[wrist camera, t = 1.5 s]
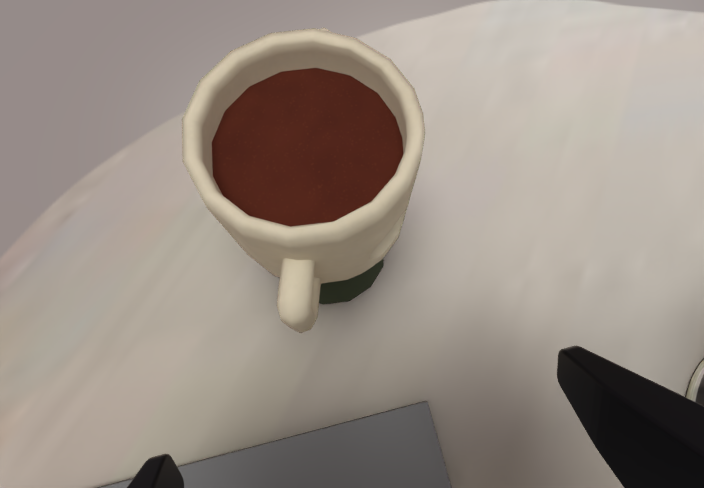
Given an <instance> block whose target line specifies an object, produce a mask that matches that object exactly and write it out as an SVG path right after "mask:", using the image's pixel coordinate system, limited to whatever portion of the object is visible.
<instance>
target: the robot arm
mask: <svg viewBox="0 0 704 488" xmlns="http://www.w3.org/2000/svg"><path fill="white" fill-rule="evenodd" d="M557 378H558V382H559V384H560V386H561V388H562V390H563V391H564V393H565V395H566V397H567V398H568V400H569V402H570V404H571V405H572V407H573V409H574V411H575V412H576V414H577V416H578V418H579V419H580V421H581V423H582V425H583V426H584V428H585V430H586V432H587V433H588V435H589V437H590V438H591V440H592V442H593V443H594V445H595V447H596V448H597V450H598V451H599V453H600V454H601V456H602V457H603V458H604V460H605V461H606V463H607V464H608V465H609V467H610V468H611V470H612V471H613V472H614V474H615V475H616V477H617V478H618V479H619V481H620V482H621V484H622V485H623V486H624V488H704V406H703V405H701V404H698V403H696V402H694V401H692V400H690V399H688V398H686V397H684V396H682V395H680V394H678V393H676V392H673V391H671V390H669V389H667V388H665V387H663V386H661V385H659V384H657V383H655V382H653V381H651V380H648V379H646V378H644V377H642V376H640V375H638V374H636V373H634V372H632V371H630V370H628V369H626V368H623V367H621V366H619V365H617V364H615V363H613V362H611V361H609V360H607V359H605V358H603V357H601V356H598V355H596V354H594V353H592V352H590V351H588V350H586V349H584V348H582V347H579V346H572V347H568V348H564V349H561V350H560V351H559V354H558V368H557ZM127 488H184V480H183V477H182V474H181V473H180V471H179V469H178V468H177V466H176V464H175V462H174V461H173V459H172V457H171V456H170V455H169V454H163V455H159V456H155V457H152V458H150V459H148V460H147V461H146V462H145V464H144V465H143V466H142V468H141V469H140V470H139V472H138V473H137V474H136V476H135V477H134V478H133V480H132V481H131V483H130V484H129V485H128V487H127Z"/></svg>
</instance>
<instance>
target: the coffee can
mask: <svg viewBox="0 0 704 488" xmlns="http://www.w3.org/2000/svg"><path fill="white" fill-rule="evenodd" d="M686 398H688V399H690V400H692V401H694V402H696V403H698V404H701V405H703V406H704V359H703V361H702V362H701V363H700V365H699V366H698V368H697V369H696V371H695V373H694V375H693V377H692V379H691V381H690V384H689V387H688V390H687V395H686Z"/></svg>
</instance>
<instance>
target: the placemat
mask: <svg viewBox="0 0 704 488" xmlns="http://www.w3.org/2000/svg"><path fill="white" fill-rule="evenodd" d="M177 468H178V469H179V471H180V473H181V474H182V477H183V480H184V488H452V487H451V484H450V480H449V477H448V473H447V470H446V466H445V462H444V459H443V455H442V452H441V448H440V445H439V441H438V437H437V434H436V430H435V427H434V423H433V420H432V416H431V413H430V409H429V405H428V402H427V401H424V402H420V403H416V404H412V405H409V406H405V407H401V408H397V409H394V410H390V411H386V412H382V413H378V414H375V415H371V416H367V417H363V418H359V419H356V420H352V421H348V422H344V423H341V424H337V425H333V426H329V427H325V428H322V429H318V430H314V431H310V432H306V433H303V434H299V435H295V436H291V437H288V438H284V439H280V440H276V441H272V442H269V443H265V444H261V445H257V446H253V447H250V448H246V449H242V450H238V451H235V452H231V453H227V454H223V455H219V456H216V457H212V458H208V459H204V460H200V461H197V462H193V463H189V464H185V465H182V466H178V467H177ZM132 480H133V478H132V479H129V480H125V481H121V482H117V483H113V484H110V485H106V486H102V487H98V488H127V487H128V485H129V484H130V483H131V481H132Z"/></svg>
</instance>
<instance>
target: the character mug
mask: <svg viewBox="0 0 704 488" xmlns="http://www.w3.org/2000/svg"><path fill="white" fill-rule="evenodd" d="M424 138H425V127H424V118H423V112H422V109H421V106H420V104H419V101H418V98H417V95H416V92H415V89H414V88H413V86H412V85H411V84H410V83H409V81H408V80H407V79H406V78H405V77H404V75H403V74H402V73H401V72H400V70H399V69H398V68H397V67H396V65H395V64H394V63H393V62H392V60H391V59H389V58H388V57H386V56H384V55H383V54H381V53H379V52H378V51H376V50H374V49H373V48H371V47H370V46H368V45H366V44H365V43H363V42H361V41H360V40H358V39H356V38H353V37H349V36H345V35H340V34H336V33H332V32H330V31H329V30H327V29H326V28H322V29H320V30H319V29H315V28H312V29H303V30H294V31H285V32H276V33H270V34H267V35H266V36H263V37H261V38H259V39H256V40H254V41H252V42H250V43H248V44H246V45H243V46H241V47H239V48H237V49H235V50H232V51H230V52H229V53H228V54H227V55H226V56H225V57H224V58H223V59H222V60H221V61H220V62H219V63H218V64H217V65H216V66H215V67H214V68H213V69H212V70H210V71H209V73H207V74H206V75H205V76H204V77H203V78H202V79H201V80H200V81H199V83H198V85H197V87H196V90H195V92H194V94H193V96H192V98H191V100H190V103H189V105H188V107H187V109H186V111H185V114H184V116H183V118H182V153H183V163H184V165H185V167H186V169H187V171H188V172H189V174H190V176H191V178H192V180H193V182H194V184H195V186H196V188H197V190H198V192H199V194H200V196H201V198H202V200H203V201H204V203H205V205H206V207H207V208H208V210H209V211H210V212H211V213H212V214H213V215H214V216H215V218H216V219H217V220H218V221H219V222H220V223H221V224H222V226H223V227H224V228H225V229H226V230H227V231H228V232H229V234H230V235H231V236H232V237H233V238H234V239H235V240H236V242H237V243H238V244H239V245H240V246H241V247H242V248H243V250H244V251H245V252H246V253H247V254H248V255H249V256H250V257H251V258H253V259H254V260H255V261H256V262H258V263H259V264H260V265H261V266H263V267H264V268H265V269H266V270H268V271H269V272H270V273H271V274H273V275H274V276H277V277H279V278H280V281H279V289H278V298H277V307H278V311H279V314H280V318H281V321H282V322H284V323H285V324H286V325H288V326H289V327H290V328H292V329H294V330H296V331H298V332H299V333H302V332H305V331H308V330H310V329H311V328H312V327H313V325H314V323H315V321H316V319H317V315H318V307H319V303H321V304H329V303H337V302H345V301H350V300H352V299H353V298H355V297H356V296H357V295H359V294H360V293H362V292H363V291H365V290H366V289H368V288H369V287H371V285H372V284H373V282H374V280H375V279H376V277H377V276H378V274H379V272H380V271H381V269H382V267H383V258H384V256H385V255H386V254H387V252H388V251H389V250H390V248H391V247H392V246H393V244H394V243H395V242H396V240H397V239H398V237H399V234H400V230H401V227H402V224H403V221H404V217H405V213H406V210H407V207H408V204H409V200H410V196H411V192H412V189H413V186H414V182H415V179H416V175H417V172H418V168H419V165H420V160H421V156H422V150H423V144H424Z"/></svg>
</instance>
